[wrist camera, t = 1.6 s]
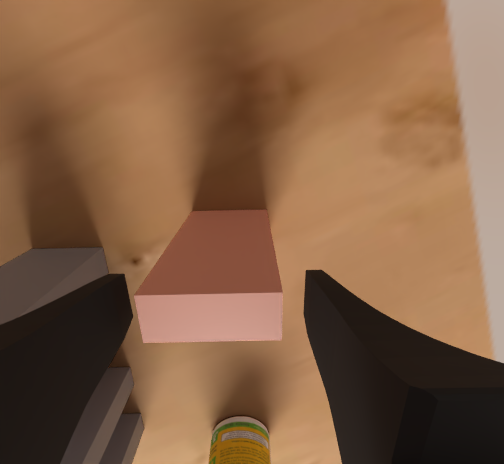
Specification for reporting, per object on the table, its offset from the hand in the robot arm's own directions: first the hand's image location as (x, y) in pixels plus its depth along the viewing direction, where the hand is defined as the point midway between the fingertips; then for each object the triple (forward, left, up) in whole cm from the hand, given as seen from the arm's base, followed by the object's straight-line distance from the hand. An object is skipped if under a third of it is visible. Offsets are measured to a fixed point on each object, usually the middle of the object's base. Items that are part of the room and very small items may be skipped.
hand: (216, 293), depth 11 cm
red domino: (0, 0, -9) cm, 9 cm away
